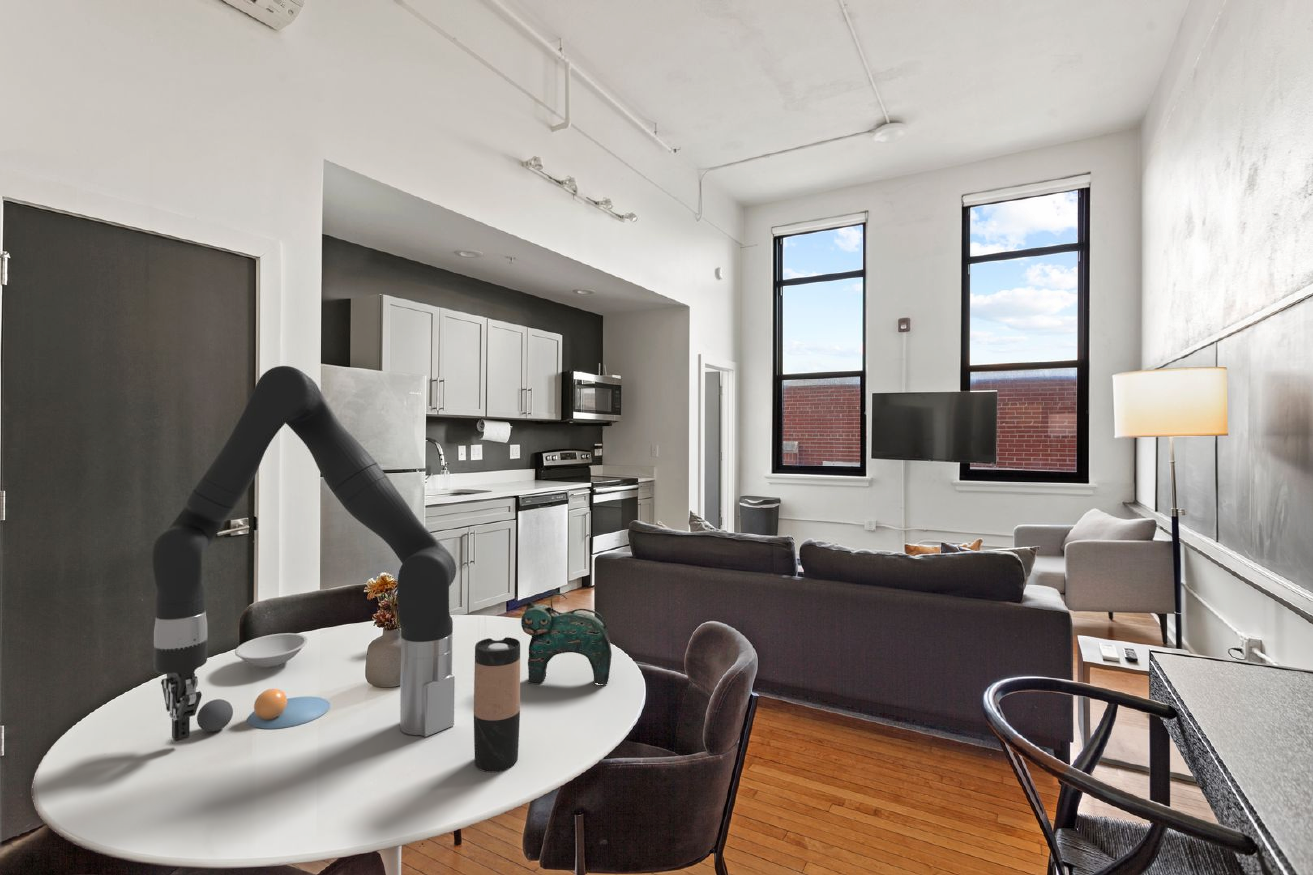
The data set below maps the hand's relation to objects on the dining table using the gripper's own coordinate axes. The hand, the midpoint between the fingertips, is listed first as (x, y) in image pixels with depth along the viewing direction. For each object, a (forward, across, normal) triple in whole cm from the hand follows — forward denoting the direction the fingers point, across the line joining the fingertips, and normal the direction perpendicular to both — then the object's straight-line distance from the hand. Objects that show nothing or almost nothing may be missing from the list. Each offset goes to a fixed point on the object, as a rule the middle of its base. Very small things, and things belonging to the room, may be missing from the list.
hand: (180, 738), depth 113 cm
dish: (+2, +29, -26) cm, 39 cm away
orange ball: (-1, 0, -14) cm, 15 cm away
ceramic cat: (+2, -30, -64) cm, 71 cm away
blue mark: (+2, 0, -18) cm, 18 cm away
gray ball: (-1, +3, -6) cm, 7 cm away
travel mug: (+2, -46, -32) cm, 56 cm away
